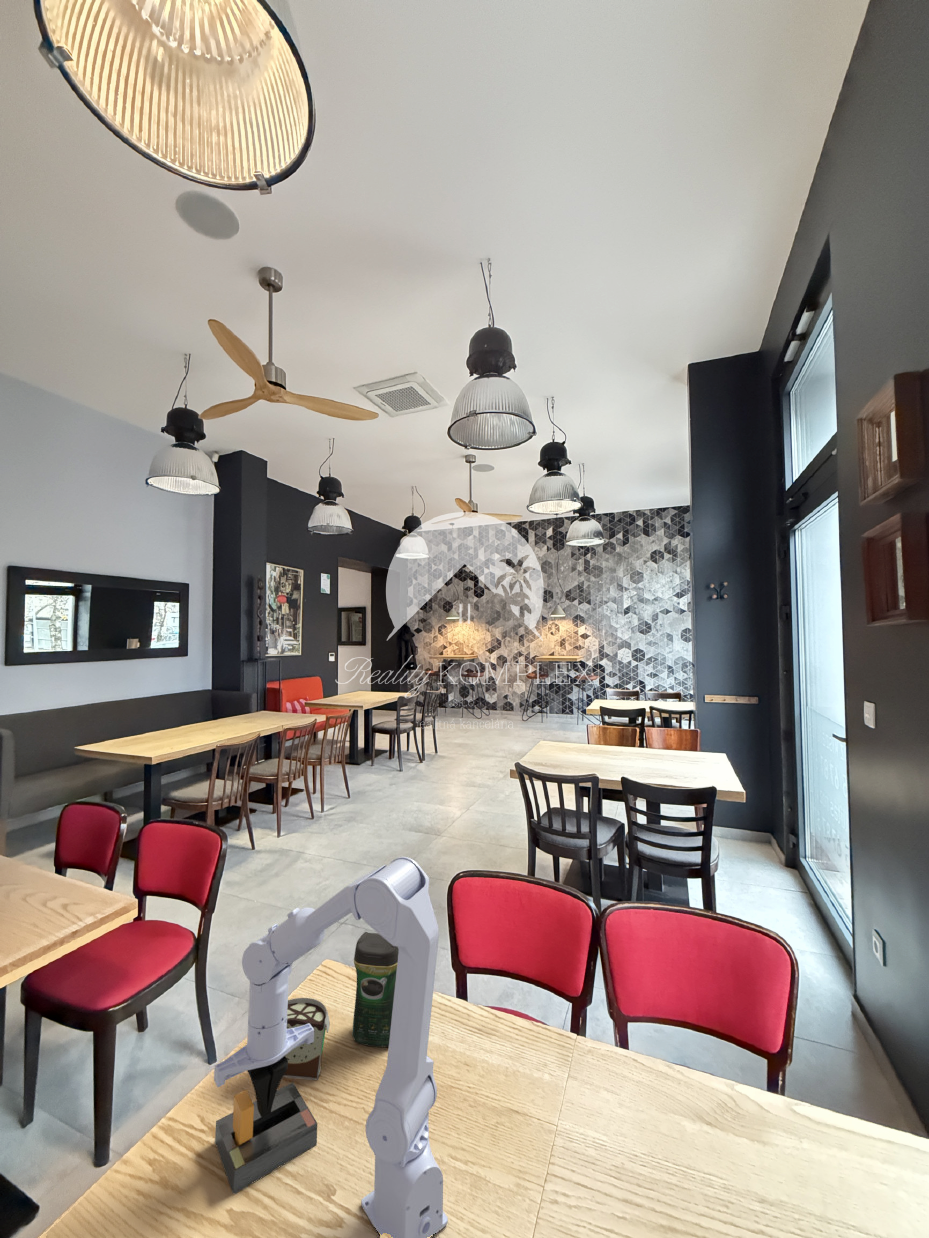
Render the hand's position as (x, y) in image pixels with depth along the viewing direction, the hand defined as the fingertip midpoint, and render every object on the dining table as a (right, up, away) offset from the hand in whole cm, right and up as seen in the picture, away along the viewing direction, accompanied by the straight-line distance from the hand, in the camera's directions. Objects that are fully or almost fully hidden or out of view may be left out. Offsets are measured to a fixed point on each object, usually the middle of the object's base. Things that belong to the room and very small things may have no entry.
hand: (264, 1110), depth 79 cm
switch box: (0, -5, 0) cm, 5 cm away
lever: (-2, -5, -2) cm, 6 cm away
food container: (+1, -7, +15) cm, 17 cm away
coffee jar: (+13, -7, +23) cm, 28 cm away
